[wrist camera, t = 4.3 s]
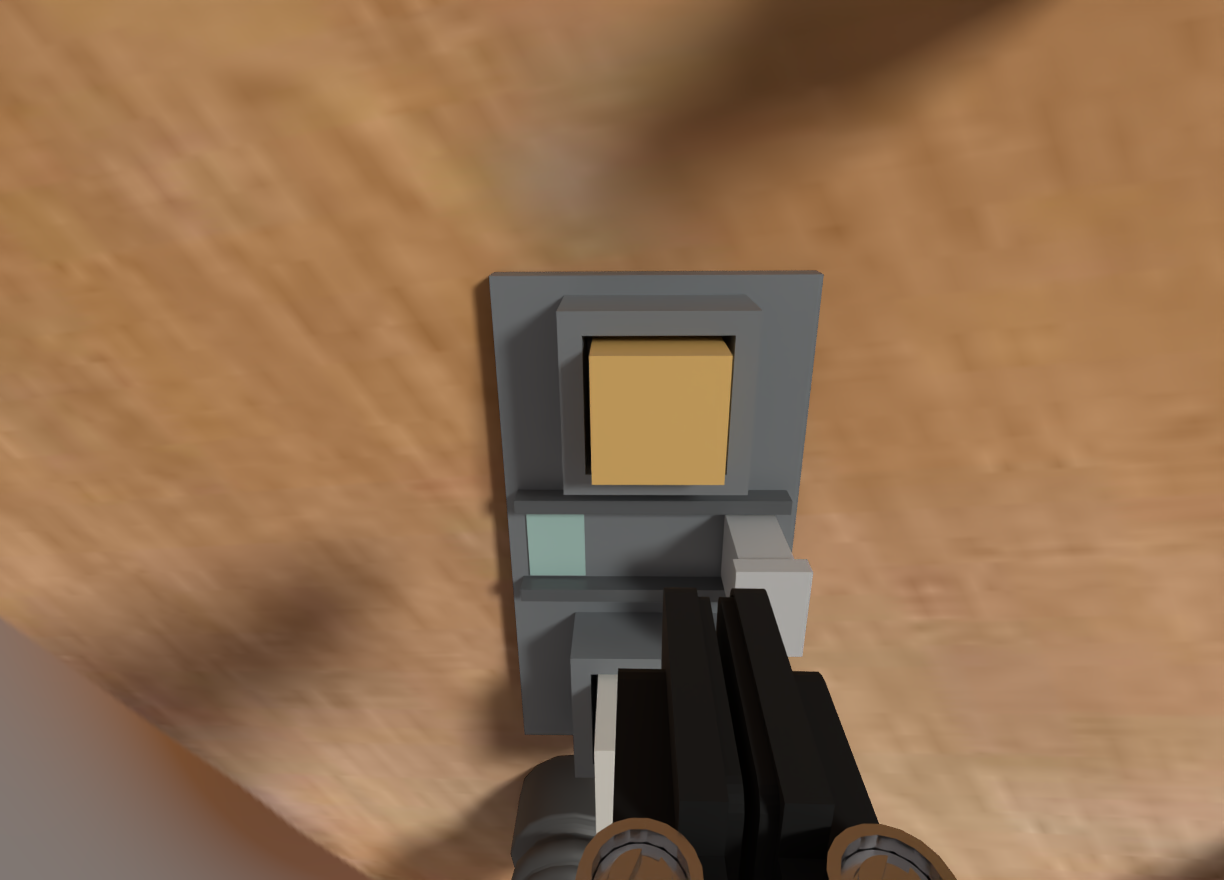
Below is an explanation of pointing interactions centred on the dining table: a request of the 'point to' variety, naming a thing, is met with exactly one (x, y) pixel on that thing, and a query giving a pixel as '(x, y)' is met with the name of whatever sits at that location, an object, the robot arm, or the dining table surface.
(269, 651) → the dining table surface
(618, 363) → the tan yellow cube
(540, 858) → the candle holder
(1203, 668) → the dining table surface
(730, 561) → the slider knob
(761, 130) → the dining table surface
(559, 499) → the switch panel
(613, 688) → the white button
